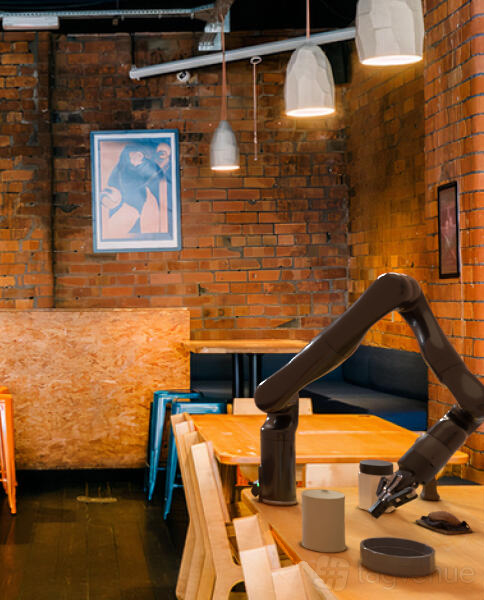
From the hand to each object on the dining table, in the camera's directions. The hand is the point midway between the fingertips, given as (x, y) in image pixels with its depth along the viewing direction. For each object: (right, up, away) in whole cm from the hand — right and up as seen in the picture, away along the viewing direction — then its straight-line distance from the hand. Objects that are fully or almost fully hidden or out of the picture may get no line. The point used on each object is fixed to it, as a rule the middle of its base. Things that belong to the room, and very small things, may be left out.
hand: (372, 515), depth 176 cm
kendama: (+33, -7, +40) cm, 52 cm away
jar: (+14, -7, +30) cm, 34 cm away
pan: (-1, -6, -15) cm, 17 cm away
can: (-11, -7, -1) cm, 13 cm away
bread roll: (+22, -6, +13) cm, 26 cm away
